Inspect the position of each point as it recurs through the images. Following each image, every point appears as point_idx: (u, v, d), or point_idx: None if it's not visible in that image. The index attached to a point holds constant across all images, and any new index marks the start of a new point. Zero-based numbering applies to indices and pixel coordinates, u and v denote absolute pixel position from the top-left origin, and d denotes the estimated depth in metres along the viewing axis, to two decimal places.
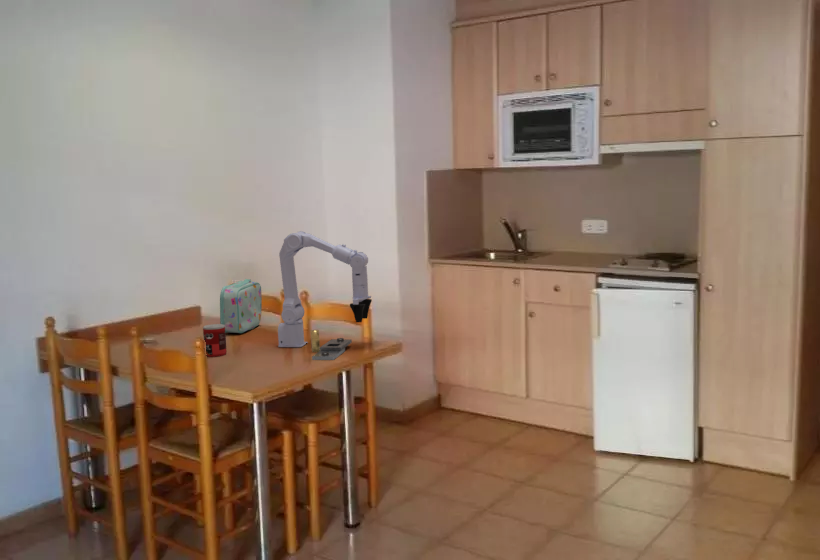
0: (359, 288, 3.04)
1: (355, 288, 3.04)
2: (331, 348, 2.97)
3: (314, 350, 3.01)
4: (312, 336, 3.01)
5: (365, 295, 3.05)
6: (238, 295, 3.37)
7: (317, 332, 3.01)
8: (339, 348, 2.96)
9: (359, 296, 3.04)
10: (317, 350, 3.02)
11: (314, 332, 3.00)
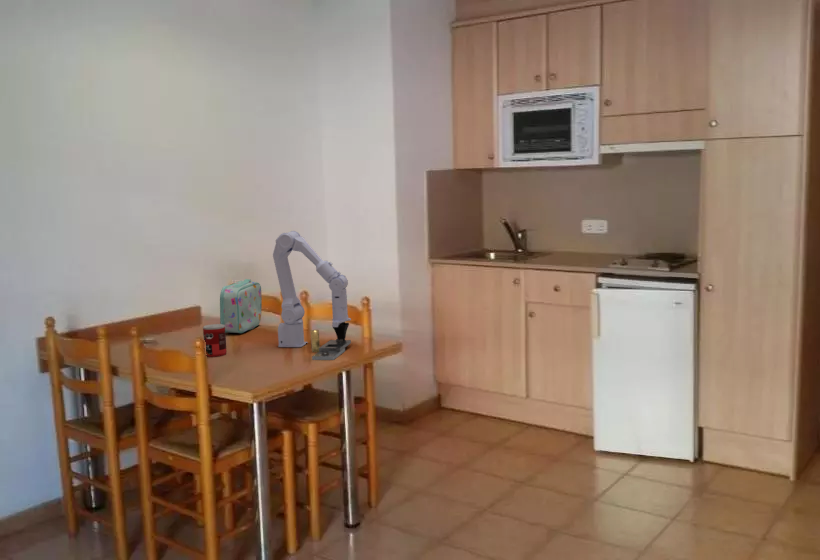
0: (339, 311, 3.06)
1: (335, 310, 3.07)
2: (330, 349, 2.96)
3: (314, 350, 3.01)
4: (312, 336, 3.01)
5: (345, 317, 3.08)
6: (238, 295, 3.37)
7: (317, 332, 3.01)
8: (338, 349, 2.96)
9: (339, 318, 3.07)
10: (317, 350, 3.02)
11: (314, 332, 3.00)
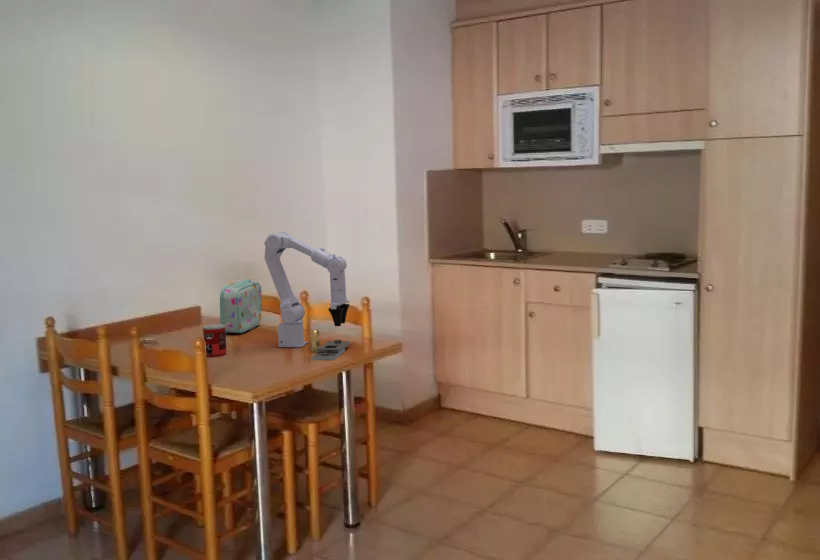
0: (337, 293, 3.05)
1: (333, 293, 3.05)
2: (328, 350, 2.94)
3: (314, 350, 3.01)
4: (312, 336, 3.01)
5: (343, 300, 3.06)
6: (238, 295, 3.37)
7: (317, 332, 3.01)
8: (337, 350, 2.94)
9: (337, 301, 3.05)
10: None
11: (314, 332, 3.00)
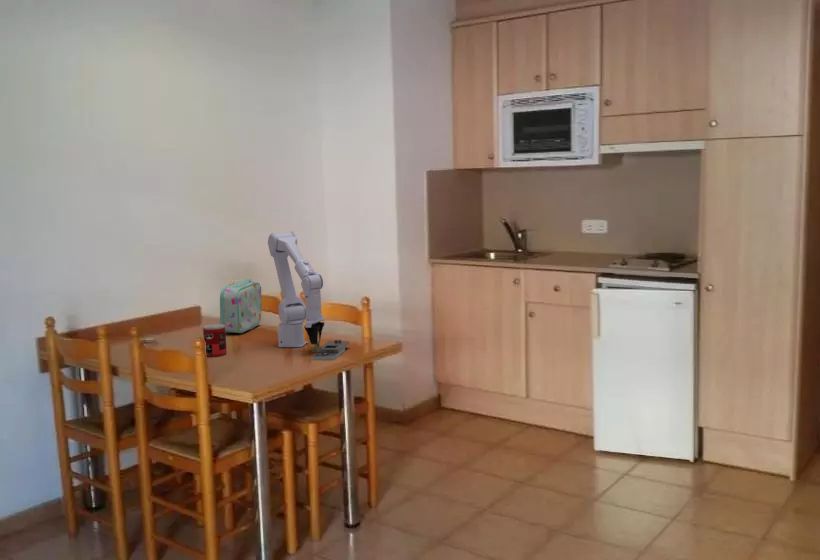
0: (312, 310, 2.98)
1: (308, 310, 2.99)
2: (328, 350, 2.94)
3: (314, 350, 3.01)
4: None
5: (318, 318, 2.99)
6: (238, 295, 3.37)
7: None
8: (337, 350, 2.94)
9: (312, 319, 2.98)
10: None
11: None
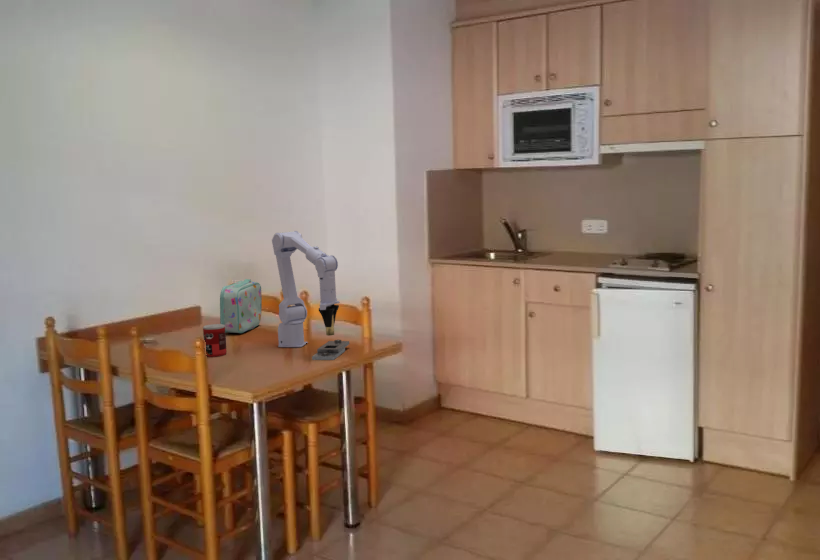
0: (326, 293, 2.93)
1: (322, 293, 2.93)
2: (328, 350, 2.94)
3: (328, 333, 2.96)
4: None
5: (333, 300, 2.94)
6: (238, 295, 3.37)
7: None
8: (337, 350, 2.94)
9: (327, 301, 2.93)
10: (331, 333, 2.96)
11: None
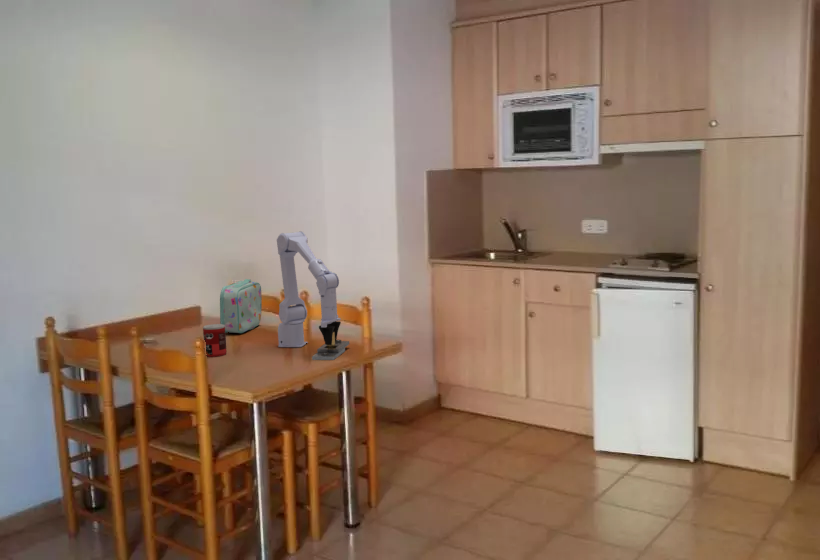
0: (328, 310, 2.94)
1: (323, 310, 2.94)
2: (328, 350, 2.94)
3: None
4: None
5: (334, 317, 2.95)
6: (238, 295, 3.37)
7: (333, 334, 2.97)
8: (337, 350, 2.94)
9: (328, 318, 2.94)
10: None
11: None
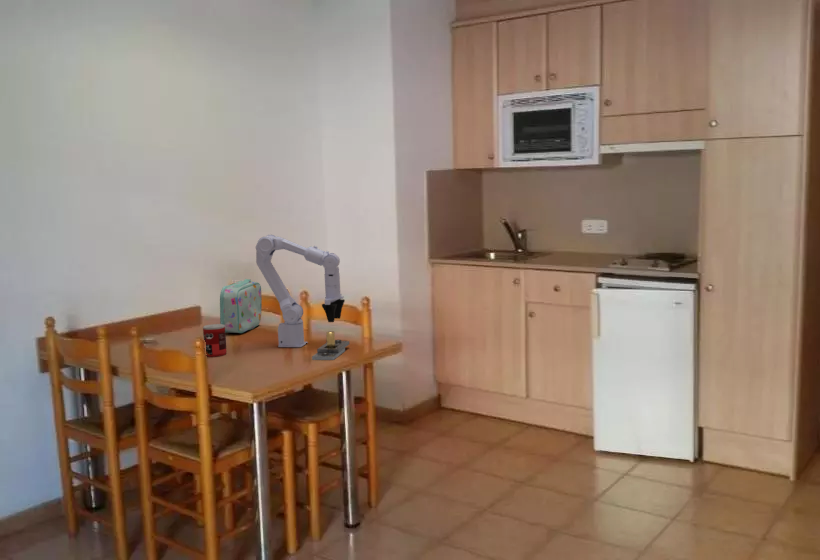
0: (331, 288, 3.08)
1: (327, 288, 3.09)
2: (328, 350, 2.94)
3: None
4: (328, 338, 2.97)
5: (337, 295, 3.09)
6: (238, 295, 3.37)
7: (333, 334, 2.97)
8: (337, 350, 2.94)
9: (331, 296, 3.09)
10: None
11: (330, 334, 2.96)
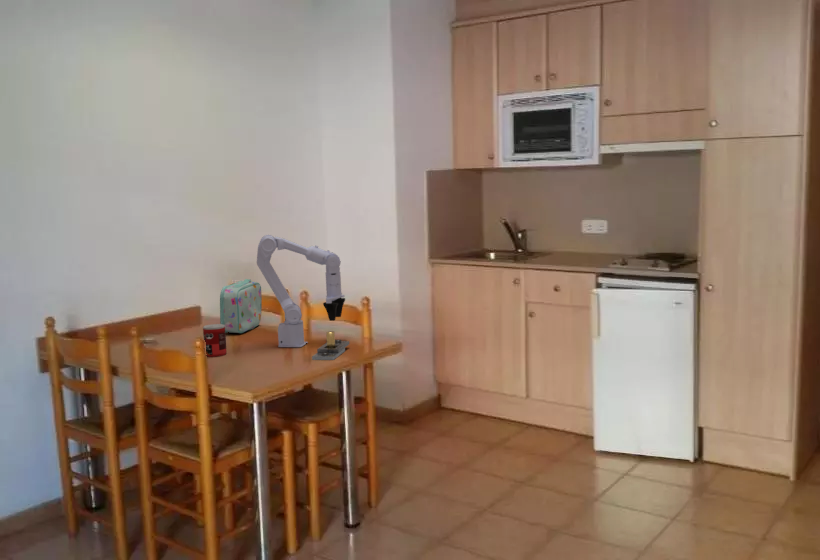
0: (332, 287, 3.12)
1: (328, 287, 3.13)
2: (328, 350, 2.94)
3: None
4: (328, 338, 2.97)
5: (338, 294, 3.13)
6: (238, 295, 3.37)
7: (333, 334, 2.97)
8: (337, 350, 2.94)
9: (332, 295, 3.12)
10: None
11: (330, 334, 2.96)
